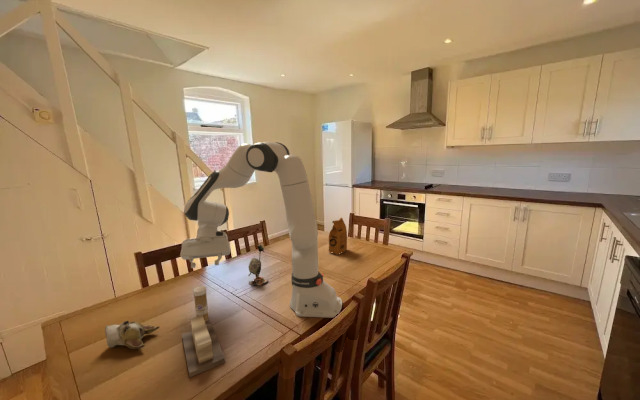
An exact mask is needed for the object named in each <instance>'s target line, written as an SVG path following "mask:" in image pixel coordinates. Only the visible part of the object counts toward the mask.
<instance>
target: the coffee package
mask: <svg viewBox="0 0 640 400" xmlns="http://www.w3.org/2000/svg"><path fill="white" fill-rule="evenodd" d="M331 224H333V225H332V227H331V230H330V231H329V232H328V233H329V234H328V252H329V253H330V252H333V253H335V254H334V255H337V254H339V253H341V252H344V251H345V250H346V249H347V250H348V231H347V230H348V229H347V226H346V223H345V221H344V219H343V217H340V218H339V219H337V220H332V223H331ZM347 250H346V251H347ZM346 251H345V252H346ZM345 252H344V253H345ZM333 253H332V254H333ZM341 254H342V253H341Z"/></svg>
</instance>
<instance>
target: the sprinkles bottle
mask: <svg viewBox="0 0 640 400" xmlns="http://www.w3.org/2000/svg"><path fill="white" fill-rule="evenodd" d="M192 292H193V298H194V310H195V317H197V316H200V315H203V318H204V321H205V323H206V322H208V320H209V319H210V317H209V307H208V299H207V287H206V286H202V285H201V286H197V287H195V288H194V289H193V290H192Z"/></svg>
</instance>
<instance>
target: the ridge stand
mask: <svg viewBox="0 0 640 400" xmlns="http://www.w3.org/2000/svg"><path fill="white" fill-rule="evenodd" d="M189 321H190V327H191V328H190V329H191V330H190V331H187V332H184V333H182V334H181V336H182V344H183V349H184V354H185V361H186V364H187V365H186V366H187V370H188V371H187V372H188V377H189V378H192V377H194V376H196V375H199V374H202V373H204V372H205V371H207V370H210V369H212V368H215V367H217V366H219V365H221V364H224V363H225V362H226V357H225V355H224V352H223V350H222V347H221V345H220V341H219V339H218V336H217V334H216V331H215V329H214V326H213V323H210V324H206V322H205V321H204V318H203V315H200V316H197V317H196V316H194V317H192V318H189Z"/></svg>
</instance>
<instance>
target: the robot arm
mask: <svg viewBox="0 0 640 400" xmlns="http://www.w3.org/2000/svg"><path fill="white" fill-rule="evenodd" d="M302 160H303V159H301V158H300V156H298V155H294V154H291V153H290V150H289V149H288V147H287V146H286V145H285V144H283V143H281V142H273V141H262V142H260V141H259V142H256V143H253V144H249V143H242V144H240V145H239V146H238V147H237V148H236V149H235V150H234V152H233V153H232V155H231V157H230V158H229V160H228V161H227V163H226V164H225V166H223V167H222V168H220V169H218V170H214V171H212V173H210V175H209V176H208V177H207V178H206V179H205V180H204V182H203V183H202V185H200V187H199V188H198V190H197V191H196V192H195V193H194V194H193V195H192V197H190V198H189V199H188V201H187V202H186V203H185V205H184V208H183V213H184V215H185V217H186V218H187V219H188V220H189V221H194V222H197V221H198V222H197V226H198V228H197V231H196V237H195V238H186V239H185V240H183V241H182V243H181V250H180V257H181V259H182V260H184V261H185V260H188V261H189V262H190V268H191V269H194V268H196V266H197V263H196V262H194V259H203V258H211V257H217V259H214V266H219V265H220V261H221V260H222V258H223V257H222V256H229V255H230V253H231V247H230V242H229V240H228V239H229V238H228V237H229V236H228V235H227V233H226V232H225V231H222V230H218V227H221V226H222V225H224V224H226V222H228V220H229V218H230V217H229V215H230V211H229V208H228V206H227V205H226V204H223V203H220V202H215V201H210V200H207V198H208V197H209V196H210V195H211V194H212V192H214V191H215V190H219V189H237V188H242V187H244V186H245V185H247V184H248V183H249V181H250V179H252V176H253V175H254V173H255V172H256V171H259V172H265V173H273V172H275V174H277V176H278V179H279V180H278V181H279V184H280V188H281V193H282V198H283V203H284V207H285V208H284V209H285V217H286V223H287V228H288V233H289V238H290V241H291V269H292V271H291V287H292V289H291V290H292V291H291V297H290V301H289V307H290V308H291V310H292V311H294V312H295V313H294V314H295V315H296V316H297V317H303V318H305V317H307V318H331V319H332V318H335V317H337V316H338V315H339V313H340V312H341V310H342V307H343V301H342V298H341V297H339V296H338V295H337V290H335V289H336V288H334V287H332V286H331V285H330V283H329V284H328V283H327V282H326V281H325V280H324V276H325V275H324V272H323V273H320V271H319V247H318V246H319V245H318V234H319V231H318V222H317V220H316V217H315V210H314V206H313V198H312V194H311V189H310V185H309V179H308V174H307V172H306V169H305V166H304V164H303V161H302ZM337 314H338V315H337ZM336 315H337V316H336Z"/></svg>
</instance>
